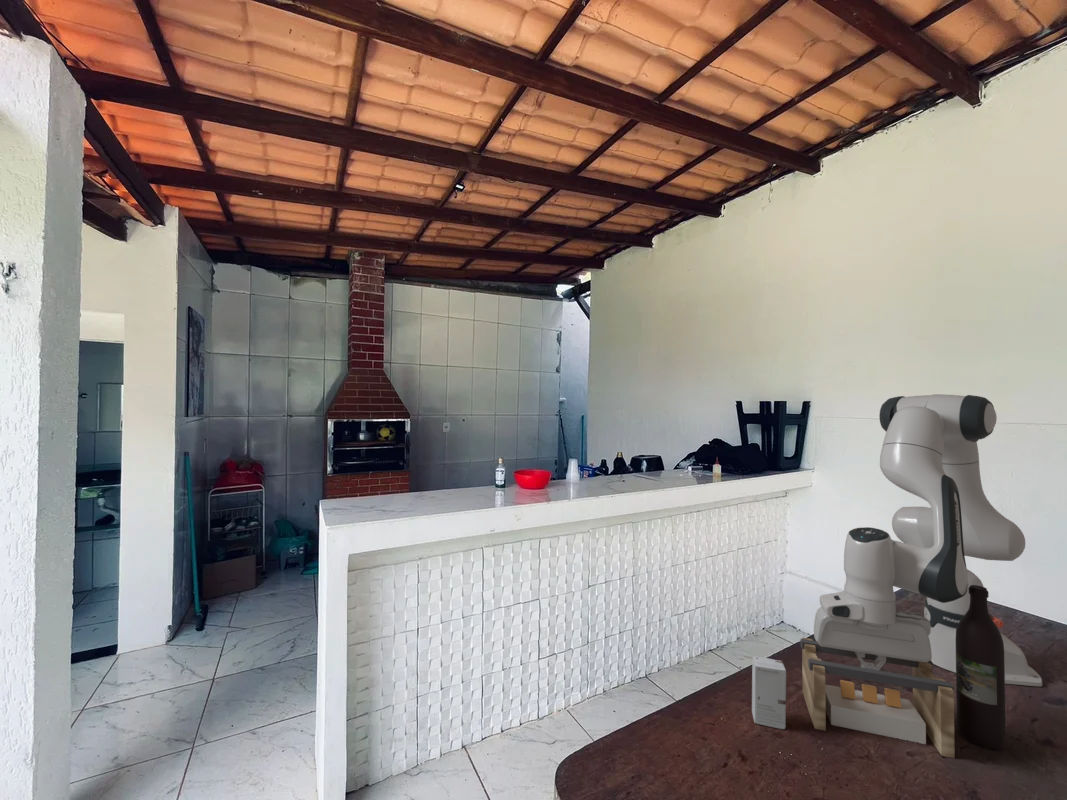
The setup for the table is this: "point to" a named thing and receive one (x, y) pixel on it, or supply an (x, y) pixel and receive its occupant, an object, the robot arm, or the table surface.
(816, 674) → the rack
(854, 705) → the breaker strip
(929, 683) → the grey bar
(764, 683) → the skincare box
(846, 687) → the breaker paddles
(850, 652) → the long charcoal square rod
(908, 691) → the table surface
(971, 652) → the wine bottle
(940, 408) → the robot arm
